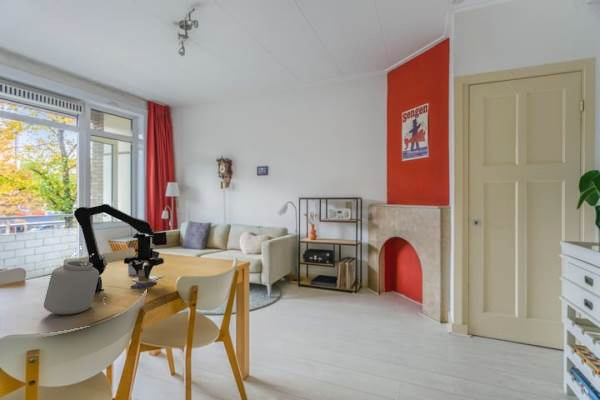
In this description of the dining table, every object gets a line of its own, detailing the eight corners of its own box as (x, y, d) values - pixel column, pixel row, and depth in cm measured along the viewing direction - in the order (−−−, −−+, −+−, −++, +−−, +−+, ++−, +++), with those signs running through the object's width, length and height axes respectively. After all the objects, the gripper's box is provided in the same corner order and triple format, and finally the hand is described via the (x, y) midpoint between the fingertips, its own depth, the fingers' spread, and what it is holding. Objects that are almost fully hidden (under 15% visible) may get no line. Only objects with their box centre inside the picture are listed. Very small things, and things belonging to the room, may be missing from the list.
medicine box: (135, 275, 161) (135, 259, 161) (127, 274, 162) (127, 259, 161) (143, 271, 169) (143, 256, 169) (136, 271, 169) (136, 256, 169)
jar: (109, 301, 121) (109, 242, 121) (98, 315, 107) (97, 248, 107) (55, 306, 115) (54, 244, 115) (35, 321, 101) (34, 250, 101)
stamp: (144, 284, 139) (144, 271, 139) (135, 284, 141) (135, 270, 140) (152, 281, 144) (152, 268, 144) (143, 281, 145) (143, 268, 145)
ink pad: (143, 289, 137) (143, 286, 137) (130, 287, 139) (130, 285, 139) (156, 283, 146) (156, 281, 146) (144, 282, 148) (144, 279, 148)
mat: (148, 282, 148) (148, 281, 148) (130, 280, 150) (130, 279, 150) (163, 276, 158) (163, 275, 158) (146, 275, 161) (146, 274, 161)
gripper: (171, 244, 148) (171, 275, 148) (140, 243, 152) (140, 272, 152) (155, 248, 137) (155, 281, 137) (123, 246, 141) (123, 278, 141)
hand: (143, 278), depth 142 cm, fingers closed on stamp, 3 cm apart
